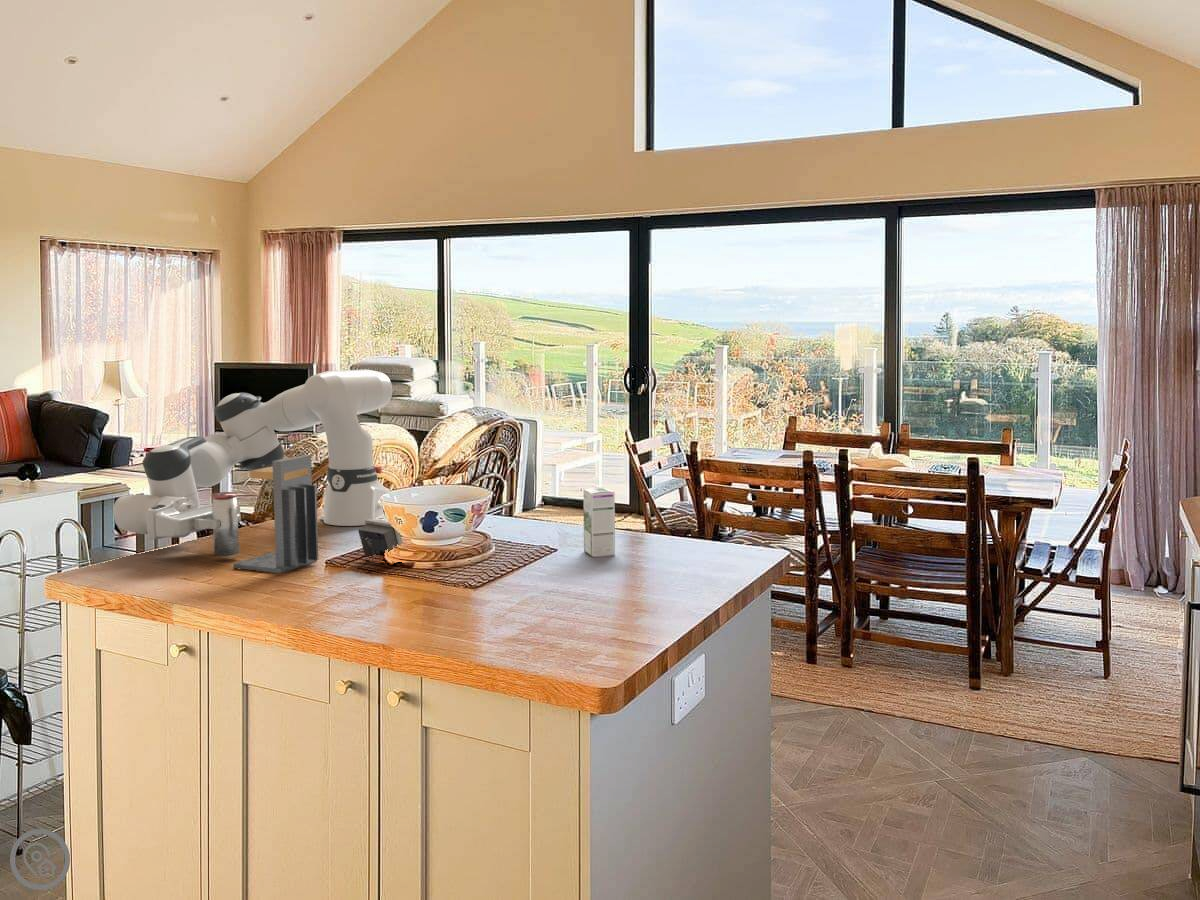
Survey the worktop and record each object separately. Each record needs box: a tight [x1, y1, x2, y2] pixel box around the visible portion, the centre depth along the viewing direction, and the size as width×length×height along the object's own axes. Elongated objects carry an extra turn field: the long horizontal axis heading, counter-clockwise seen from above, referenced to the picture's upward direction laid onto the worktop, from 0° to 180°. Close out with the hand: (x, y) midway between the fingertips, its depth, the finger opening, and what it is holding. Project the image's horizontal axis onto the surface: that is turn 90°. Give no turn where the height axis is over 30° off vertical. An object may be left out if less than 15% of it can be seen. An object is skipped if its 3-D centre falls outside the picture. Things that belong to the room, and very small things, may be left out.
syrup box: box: [583, 487, 616, 558], centre depth 225 cm, size 6×6×14 cm
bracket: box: [233, 454, 319, 575], centre depth 212 cm, size 12×14×23 cm
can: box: [210, 491, 240, 557], centre depth 218 cm, size 5×5×13 cm
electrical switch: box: [357, 519, 403, 558], centre depth 216 cm, size 9×5×9 cm, turn 57°
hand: (228, 521), depth 217 cm, fingers closed on can, 5 cm apart
